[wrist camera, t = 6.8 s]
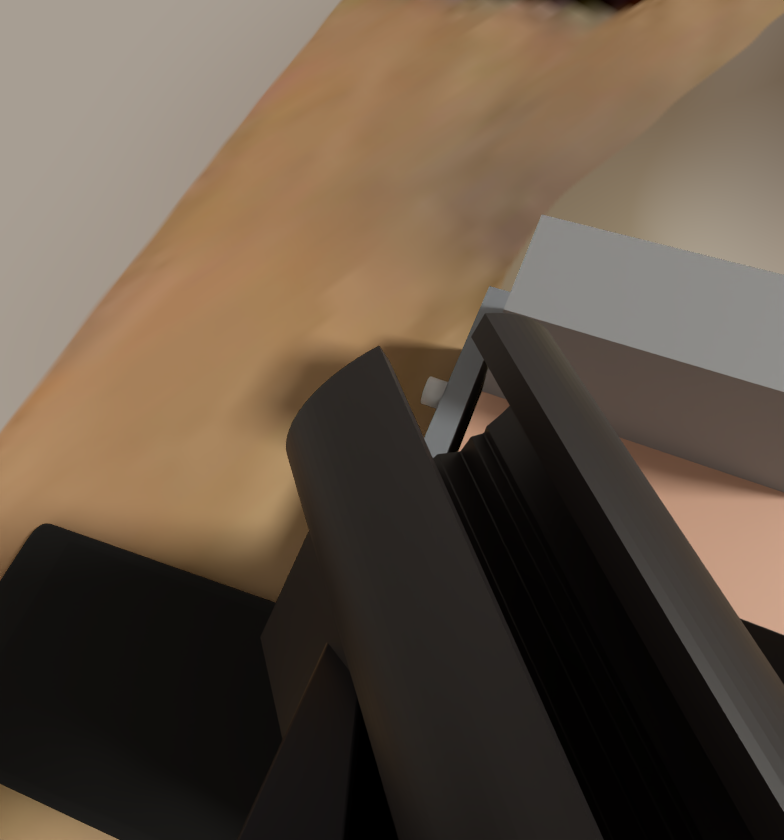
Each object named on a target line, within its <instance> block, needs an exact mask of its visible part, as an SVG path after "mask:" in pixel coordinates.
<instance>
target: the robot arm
mask: <svg viewBox="0 0 784 840" xmlns="http://www.w3.org/2000/svg"><path fill="white" fill-rule="evenodd" d="M740 620H741V621H742V623H743V624H744V626H745V627H746V629H747V630H748V632H749V633H750V635H751V636H752V638H753V639H754V641H755V642H756V644H757V645H758V647H759V648H760V650H761V651H762V653H763V654H764V656H765V657H766V659H767V660H768V662H769V663H770V665H771V666H772V668H773V669H774V671H775V672H776V674H777V675H778V677H779V678H780V680H781V681H782V683H783V684H784V635H783V634H780V633H778V632H775V631H772V630H770V629H767V628H764V627H762V626H759V625H756V624H754V623H751V622H749V621H746V620H743V619H741V618H740ZM237 840H393V837H392V832H391V827H390V822H389V816H388V811H387V806H386V801H385V796H384V791H383V786H382V781H381V777H380V774H379V770H378V767H377V763H376V760H375V757H374V753H373V750H372V746H371V743H370V739H369V736H368V732H367V729H366V725H365V722H364V719H363V715H362V712H361V708H360V705H359V701H358V698H357V694H356V691H355V687H354V684H353V681H352V677H351V674H350V671H349V670H348V668H347V667H346V666H345V664H344V663H343V662H342V660H341V659H340V658H339V657H338V655H337V654H336V653H335V651H334V650H333V649H332V647H331V646H330V645H329V644H328V642H327V643H326V645H325V647H324V649H323V652H322V654H321V656H320V658H319V660H318V663H317V665H316V667H315V669H314V671H313V674H312V676H311V678H310V680H309V682H308V685H307V687H306V689H305V691H304V693H303V696H302V698H301V700H300V702H299V704H298V707H297V709H296V711H295V713H294V715H293V717H292V720H291V722H290V724H289V726H288V728H287V731H286V733H285V735H284V737H283V739H282V742H281V744H280V746H279V748H278V750H277V753H276V755H275V757H274V759H273V761H272V764H271V766H270V768H269V770H268V772H267V775H266V777H265V779H264V781H263V783H262V786H261V788H260V790H259V792H258V794H257V797H256V799H255V801H254V803H253V805H252V807H251V810H250V812H249V814H248V816H247V818H246V821H245V823H244V825H243V827H242V829H241V832H240V834H239V836H238V838H237Z"/></svg>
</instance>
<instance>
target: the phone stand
mask: <svg viewBox="0 0 784 840" xmlns="http://www.w3.org/2000/svg"><path fill="white" fill-rule="evenodd" d="M471 338H472V339H473V341H474V343H475V345H476V347H477V348H478V350H479V352H480V354H481V355H482V357H483V359H484V361H485V363H486V364H487V366H488V368H489V370H490V371H491V373H492V375H493V377H494V378H495V380H496V382H497V384H498V386H499V387H500V389H501V391H502V393H503V394H504V396H505V398H506V400H507V402H508V403H509V405H510V406H509V407H508V408H507V409H506V410H505V411H504V412H503V413H502V414H501V415H499V416H498V417H497V418H496V419H495V420H494V421H492V422H491V423H490V424H489V425H487V426H486V429H485V432H484V433H482V434H479V435H475V436H472V437H470V439H469V440H468V442H467V443H466V444H465V446H464V447H463V448H462V450H461V451H459V452H451V453H443V454H437V455H436V456H435V457H434V458H433V457H432V455H431V453H430V450H429V448H428V446H427V444H426V442H425V439H424V437H423V435H422V433H421V430H420V428H419V426H418V424H417V421H416V419H415V417H414V415H413V412H412V410H411V408H410V406H409V404H408V401H407V399H406V397H405V395H404V392H403V390H402V388H401V386H400V383H399V381H398V379H397V377H396V375H395V372H394V370H393V368H392V366H391V363H390V361H389V360H388V358H387V357H386V355H385V354H384V352H383V351H382V349H381V348H380V346H377V347H376V348H374V349H372V350H370V351H368V352H367V353H365V354H363V355H362V356H360V357H358V358H357V359H355V360H354V361H352V362H351V363H349V364H348V365H347V366H345V367H344V368H342V369H341V370H340V371H338V372H337V373H336V374H334V375H333V376H332V377H331V378H330V379H328V380H327V381H326V382H325V383H324V384H323V385H322V386H321V387H320V388H318V389H317V390H316V391H315V392H314V394H313V395H312V396H311V397H310V398H309V399H308V400H307V401H306V403H305V404H304V405H303V406H302V408H301V409H300V410H299V412H298V414H297V415H296V417H295V418H294V420H293V422H292V424H291V427H290V429H289V432H288V435H287V440H286V451H287V456H288V459H289V463H290V466H291V470H292V473H293V477H294V480H295V484H296V487H297V491H298V494H299V497H300V501H301V504H302V508H303V511H304V515H305V518H306V522H307V525H308V529H309V532H308V534H307V536H306V538H305V540H304V543H303V545H302V547H301V549H300V551H299V554H298V556H297V558H296V560H295V562H294V564H293V567H292V569H291V571H290V573H289V575H288V578H287V580H286V582H285V584H284V586H283V588H282V591H281V593H280V595H279V597H278V599H277V602H276V604H275V606H274V608H273V610H272V613H271V615H270V617H269V619H268V621H267V623H266V626H265V628H264V630H263V632H262V634H261V637H260V638H261V643H262V647H263V652H264V657H265V661H266V666H267V671H268V675H269V680H270V684H271V689H272V694H273V698H274V703H275V707H276V712H277V717H278V721H279V726H280V730H281V735H282V739H283V737H284V735H285V733H286V731H287V728H288V726H289V724H290V722H291V720H292V717H293V715H294V713H295V711H296V709H297V707H298V704H299V702H300V700H301V698H302V696H303V693H304V691H305V689H306V687H307V685H308V682H309V680H310V678H311V676H312V674H313V671H314V669H315V667H316V665H317V663H318V660H319V658H320V656H321V654H322V652H323V649H324V647H325V645H326V643H327V642H328V644H329V645H330V646H331V647H332V649H333V650H334V651H335V653H336V654H337V655H338V657H339V658H340V659H341V660H342V662H343V663H344V664H345V666H346V667H347V668H348V670H349V671H350V674H351V677H352V681H353V684H354V687H355V691H356V694H357V698H358V701H359V705H360V708H361V712H362V715H363V719H364V722H365V725H366V729H367V732H368V736H369V739H370V743H371V746H372V750H373V753H374V757H375V760H376V763H377V767H378V770H379V774H380V777H381V781H382V786H383V791H384V796H385V801H386V806H387V811H388V816H389V822H390V827H391V832H392V837H393V840H784V684H783V683H782V681H781V680H780V678H779V677H778V675H777V674H776V672H775V671H774V669H773V668H772V666H771V665H770V663H769V662H768V660H767V659H766V657H765V656H764V654H763V653H762V651H761V650H760V648H759V647H758V645H757V644H756V642H755V641H754V639H753V638H752V636H751V635H750V633H749V632H748V630H747V629H746V627H745V626H744V624H743V623H742V621H741V620H740V618H739V617H738V615H737V614H736V612H735V611H734V609H733V608H732V606H731V605H730V603H729V602H728V600H727V599H726V597H725V596H724V594H723V593H722V591H721V590H720V588H719V586H718V585H717V583H716V582H715V580H714V579H713V577H712V576H711V574H710V573H709V571H708V570H707V568H706V567H705V565H704V564H703V562H702V561H701V559H700V558H699V556H698V555H697V553H696V552H695V550H694V549H693V547H692V546H691V544H690V543H689V541H688V540H687V538H686V537H685V535H684V534H683V532H682V531H681V529H680V528H679V526H678V525H677V523H676V522H675V520H674V519H673V517H672V516H671V514H670V513H669V511H668V510H667V508H666V507H665V505H664V504H663V502H662V501H661V499H660V498H659V496H658V495H657V493H656V492H655V490H654V489H653V487H652V486H651V484H650V483H649V481H648V480H647V478H646V477H645V475H644V474H643V472H642V471H641V469H640V468H639V466H638V465H637V463H636V462H635V460H634V459H633V457H632V456H631V454H630V453H629V451H628V450H627V448H626V447H625V445H624V444H623V442H622V441H621V439H620V438H619V436H618V435H617V433H616V432H615V430H614V429H613V427H612V426H611V424H610V423H609V421H608V420H607V418H606V417H605V415H604V414H603V412H602V411H601V409H600V408H599V406H598V405H597V403H596V402H595V400H594V399H593V397H592V396H591V394H590V393H589V391H588V390H587V388H586V387H585V385H584V384H583V382H582V381H581V379H580V378H579V376H578V375H577V373H576V372H575V370H574V369H573V367H572V366H571V364H570V363H569V361H568V360H567V358H566V357H565V355H564V354H563V352H562V351H561V349H560V348H559V346H558V345H557V343H556V342H555V340H554V339H553V337H552V336H551V334H550V333H549V331H548V330H547V329H546V328H545V327H544V326H543V325H542V324H540V323H539V322H537V321H535V320H533V319H531V318H528V317H525V316H521V315H516V314H510V313H485V314H484V316H483V317H482V319H481V321H480V323H479V324H478V326H477V328H476V329H475V331H474V333H473V334H472V336H471Z"/></svg>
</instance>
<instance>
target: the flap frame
mask: <svg viewBox="0 0 784 840" xmlns="http://www.w3.org/2000/svg"><path fill="white" fill-rule="evenodd" d="M509 295H510V292H508V291H505V290H501V289H498V288H494V287H491V286H489V289H488V291H487V293H486V296H485V298H484V300H483V303H482V305H481V307H480V309H479V312H478V314H477V316H476V319H475V321H474V323H473V326H472V328H471V330H470V333H469V335H468V337H467V340H466V342H465V344H464V347H463V349H462V351H461V354H460V356H459V358H458V361H457V363H456V365H455V368H454V370H453V372H452V374H451V377H450V379H449V381H448V382H446V381H443V380H440V379H437V378H434V377H431V376H430V377H429V378H428V380H427V382H426V385H425V387H424V390H423V393H422V397H421V404H424V405H427V406H430V407H433V408H435V409H436V412H435V414H434V416H433V419H432V421H431V423H430V426H429V428H428V430H427V433H426V435H425V437H424V439H425V442H426V444H427V446H428V448H429V450H430V453H431V455H432V457H433V458H434V457H435V456H436V455H437V454H443V453H451V452H456V450H457V447H458V445H459V442H460V440H461V437H462V435H463V432H464V430H465V427H466V424H467V422H468V419H469V417H470V414H471V412H472V409H473V407H474V404H475V402H476V399H477V397H478V394H479V391H480V389H481V386H482V384H483V381H484V379H485V376H486V374H487V370H488V366H487V364H486V363H485V361H484V359H483V357H482V355H481V354H480V352H479V350H478V348H477V347H476V345H475V343H474V341H473V339H472V338H471V336H472V334H473V333H474V331H475V329H476V328H477V326H478V324H479V323H480V321H481V319H482V317H483V316H484V314H485V313H503V310H504V307H505V305H506V302H507V300H508V297H509Z"/></svg>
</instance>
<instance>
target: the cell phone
mask: <svg viewBox="0 0 784 840" xmlns="http://www.w3.org/2000/svg"><path fill="white" fill-rule="evenodd" d="M275 604H276V603H275V602H272V601H269V600H266V599H263V598H261V597H258V596H255V595H252V594H249V593H246V592H243V591H241V590H238V589H235V588H232V587H229V586H226V585H224V584H221V583H218V582H215V581H212V580H209V579H206V578H204V577H201V576H198V575H195V574H192V573H189V572H186V571H184V570H181V569H178V568H175V567H172V566H169V565H167V564H164V563H161V562H158V561H155V560H152V559H149V558H147V557H144V556H141V555H138V554H135V553H132V552H129V551H127V550H124V549H121V548H118V547H115V546H112V545H110V544H107V543H104V542H101V541H98V540H95V539H92V538H90V537H87V536H84V535H81V534H78V533H75V532H72V531H70V530H67V529H64V528H61V527H58V526H55V525H52V524H42V525H40V526H39V527H38V528H37V529H35V530H34V531H33V533H32V534H31V535H30V536H29V538H28V539H27V541H26V542H25V544H24V545H23V547H22V548H21V550H20V551H19V553H18V554H17V556H16V558H15V559H14V561H13V562H12V564H11V565H10V567H9V568H8V570H7V571H6V573H5V574H4V576H3V578H2V579H1V581H0V784H2V785H4V786H6V787H8V788H11V789H13V790H15V791H17V792H19V793H21V794H23V795H25V796H28V797H30V798H32V799H34V800H36V801H38V802H40V803H42V804H45V805H47V806H49V807H51V808H53V809H55V810H57V811H59V812H62V813H64V814H66V815H68V816H70V817H72V818H74V819H76V820H79V821H81V822H83V823H85V824H87V825H89V826H91V827H93V828H96V829H98V830H100V831H102V832H104V833H106V834H108V835H110V836H113V837H115V838H117V839H119V840H237V838H238V836H239V834H240V832H241V829H242V827H243V825H244V823H245V821H246V818H247V816H248V814H249V812H250V810H251V807H252V805H253V803H254V801H255V799H256V797H257V794H258V792H259V790H260V788H261V786H262V783H263V781H264V779H265V777H266V775H267V772H268V770H269V768H270V766H271V764H272V761H273V759H274V757H275V755H276V753H277V750H278V748H279V746H280V744H281V742H282V735H281V730H280V726H279V721H278V717H277V712H276V707H275V703H274V698H273V694H272V689H271V684H270V680H269V675H268V671H267V666H266V661H265V657H264V652H263V647H262V643H261V638H260V637H261V634H262V632H263V630H264V628H265V626H266V623H267V621H268V619H269V617H270V615H271V613H272V610H273V608H274V606H275Z"/></svg>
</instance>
